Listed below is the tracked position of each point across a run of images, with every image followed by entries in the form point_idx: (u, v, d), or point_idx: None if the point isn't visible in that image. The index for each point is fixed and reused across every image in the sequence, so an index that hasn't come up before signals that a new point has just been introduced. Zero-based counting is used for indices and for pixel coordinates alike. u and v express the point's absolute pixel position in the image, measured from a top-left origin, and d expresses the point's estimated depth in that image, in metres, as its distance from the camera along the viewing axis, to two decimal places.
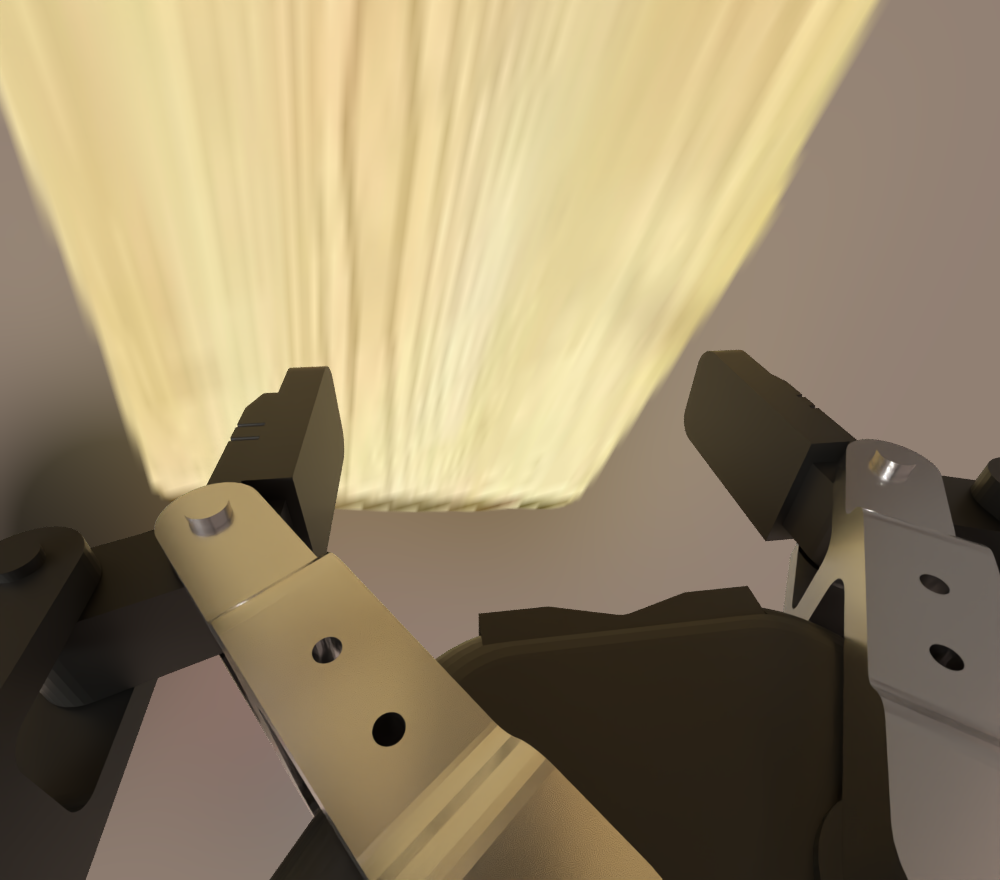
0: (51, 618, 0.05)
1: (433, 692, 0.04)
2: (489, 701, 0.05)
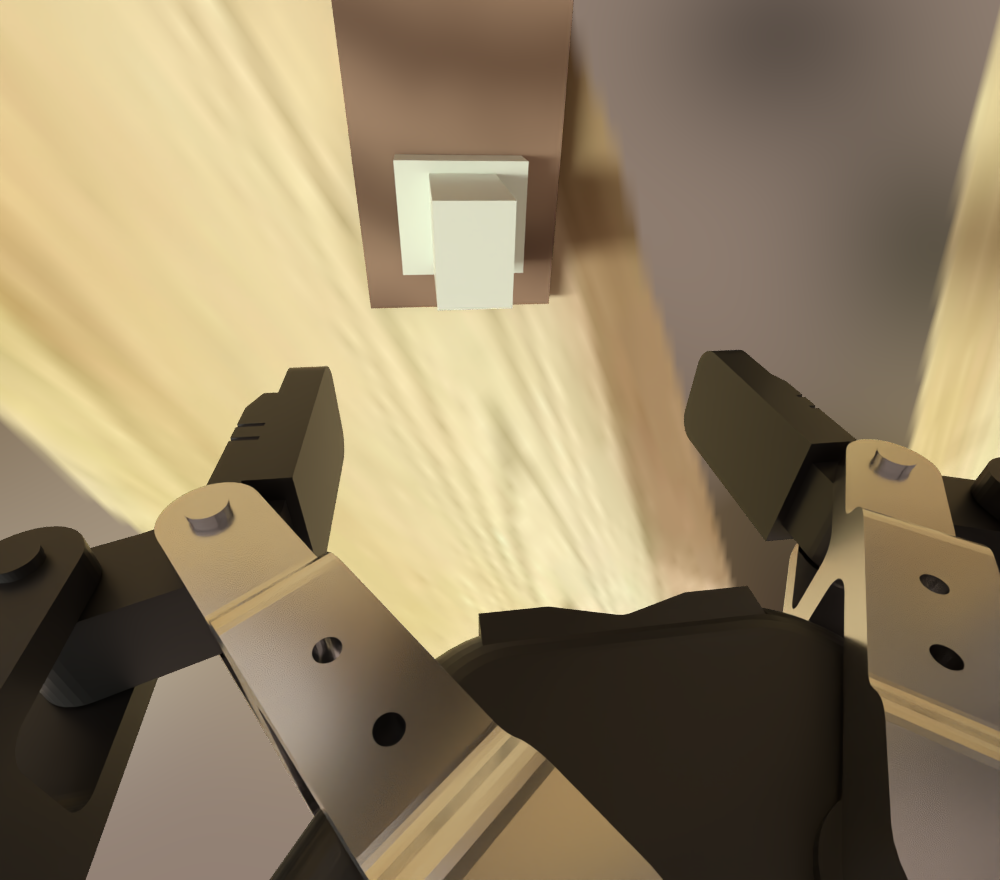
0: (51, 618, 0.05)
1: (433, 692, 0.04)
2: (490, 701, 0.05)
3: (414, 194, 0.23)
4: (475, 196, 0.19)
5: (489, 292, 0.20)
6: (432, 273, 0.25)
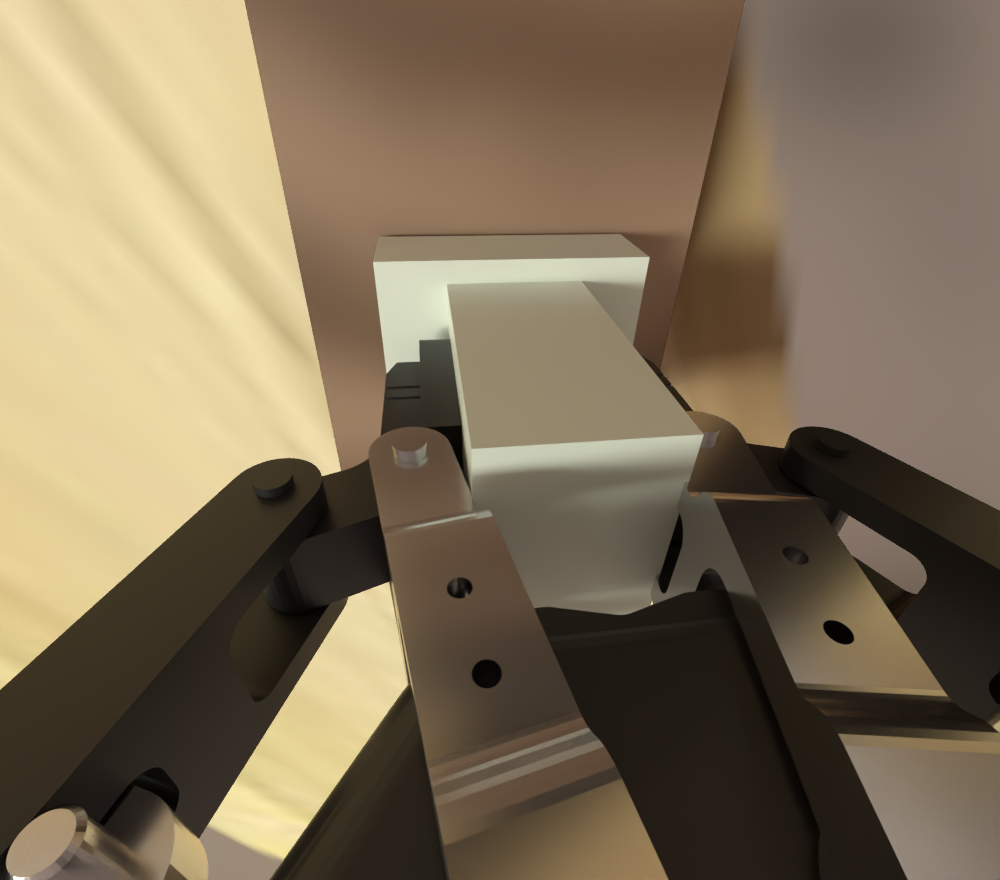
0: (282, 538, 0.06)
1: (534, 661, 0.04)
2: None
3: (417, 323, 0.11)
4: (582, 409, 0.07)
5: (598, 602, 0.08)
6: None
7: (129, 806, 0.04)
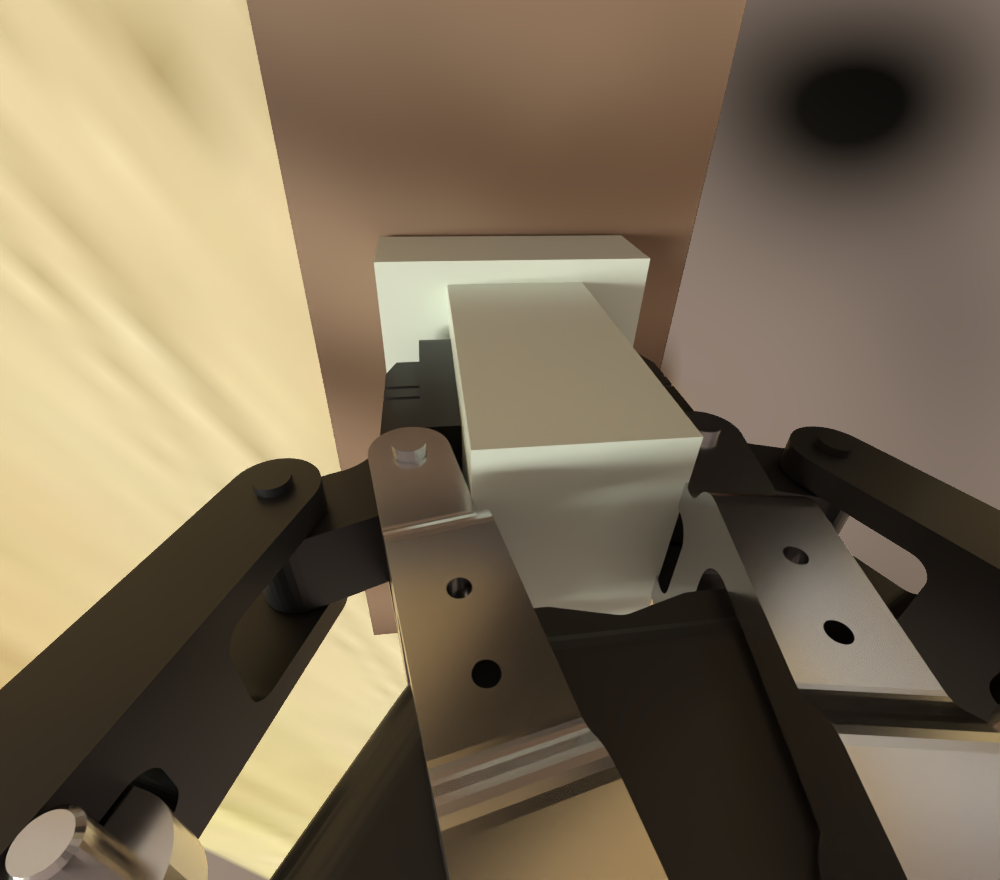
0: (281, 539, 0.06)
1: (533, 660, 0.04)
2: None
3: (418, 323, 0.11)
4: (582, 411, 0.07)
5: (597, 604, 0.08)
6: None
7: (129, 806, 0.04)
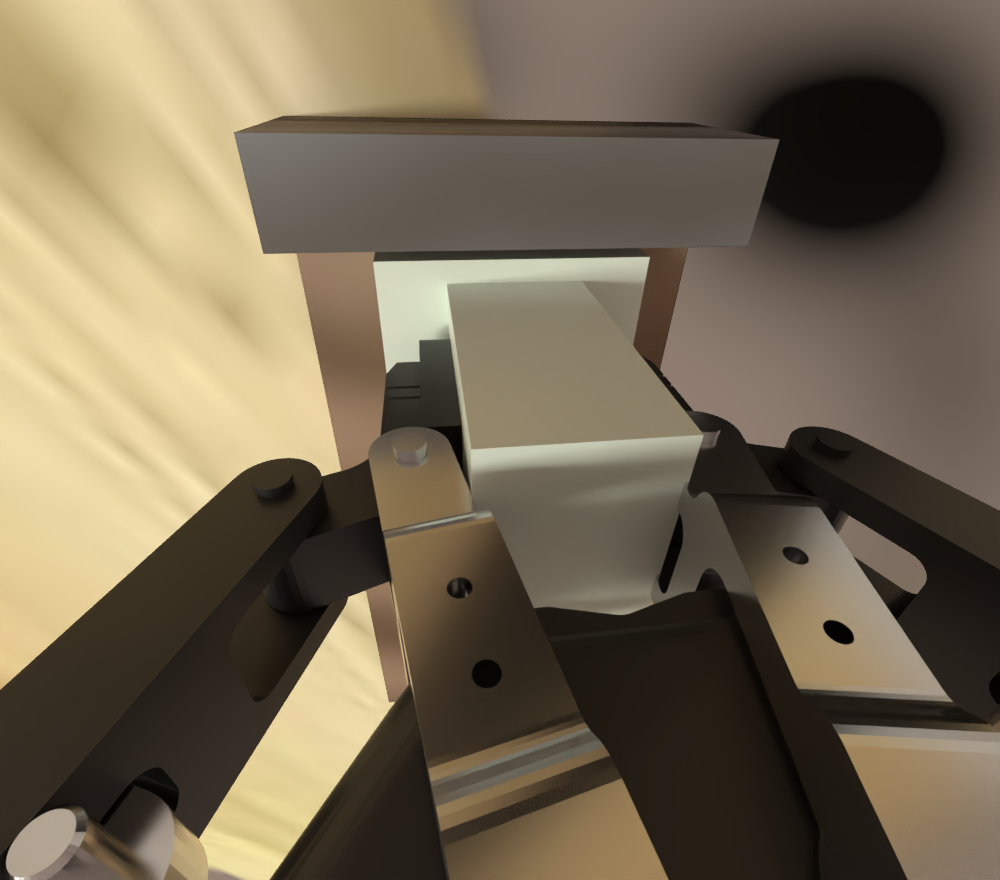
0: (282, 539, 0.06)
1: (534, 660, 0.04)
2: None
3: (417, 323, 0.11)
4: (582, 409, 0.07)
5: (598, 603, 0.08)
6: None
7: (129, 806, 0.04)
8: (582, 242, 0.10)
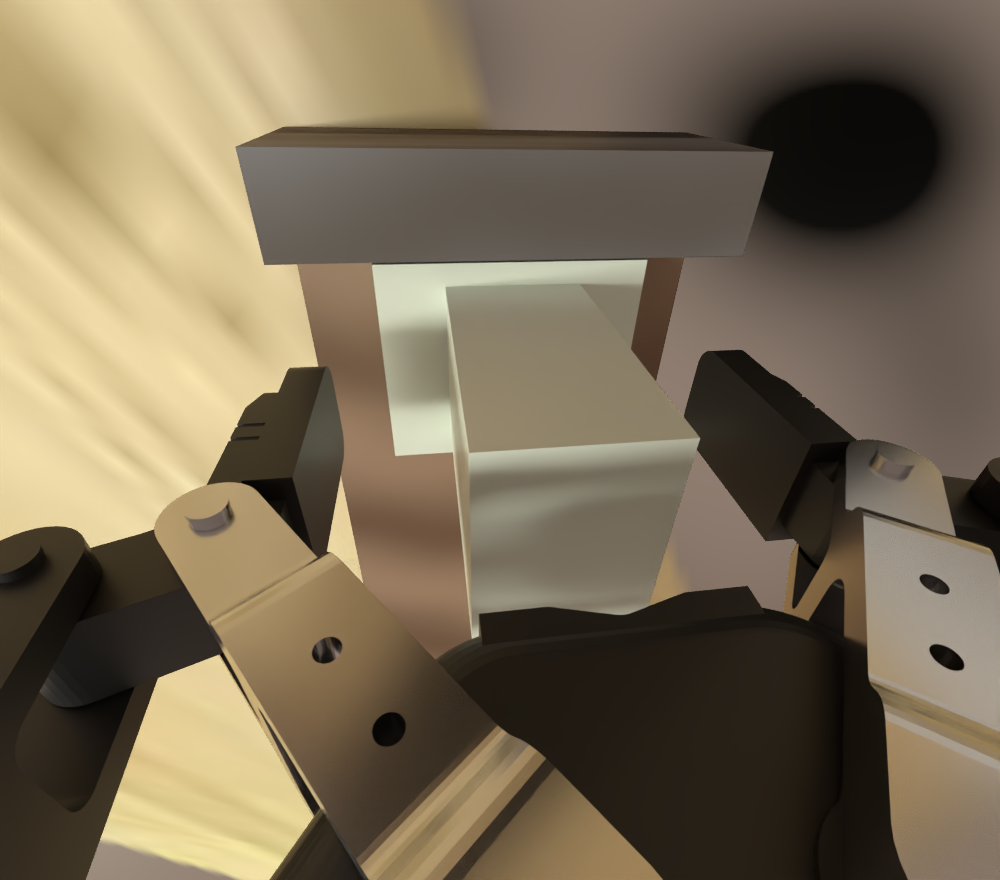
0: (52, 617, 0.05)
1: (433, 692, 0.04)
2: (489, 701, 0.05)
3: (416, 326, 0.11)
4: (579, 412, 0.07)
5: (596, 605, 0.08)
6: (449, 451, 0.14)
7: None
8: (579, 252, 0.11)
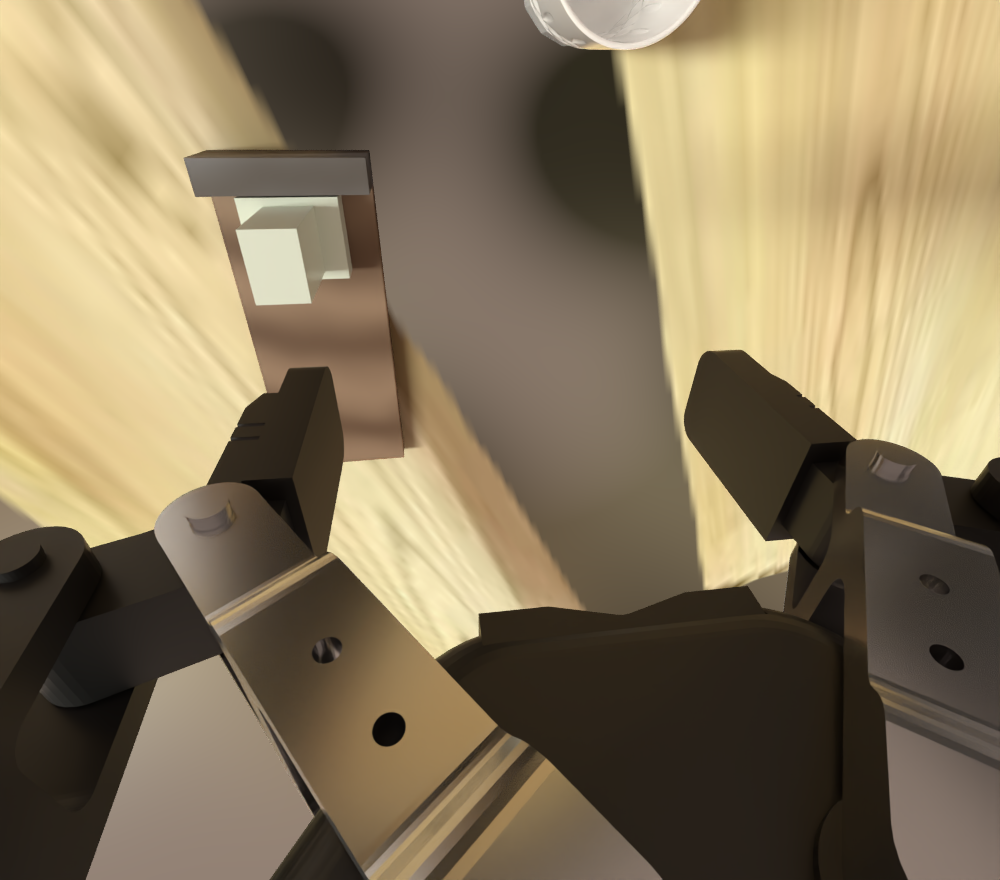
0: (50, 618, 0.05)
1: (433, 693, 0.04)
2: (489, 701, 0.05)
3: None
4: (271, 225, 0.27)
5: (291, 292, 0.28)
6: None
7: None
8: (306, 193, 0.31)
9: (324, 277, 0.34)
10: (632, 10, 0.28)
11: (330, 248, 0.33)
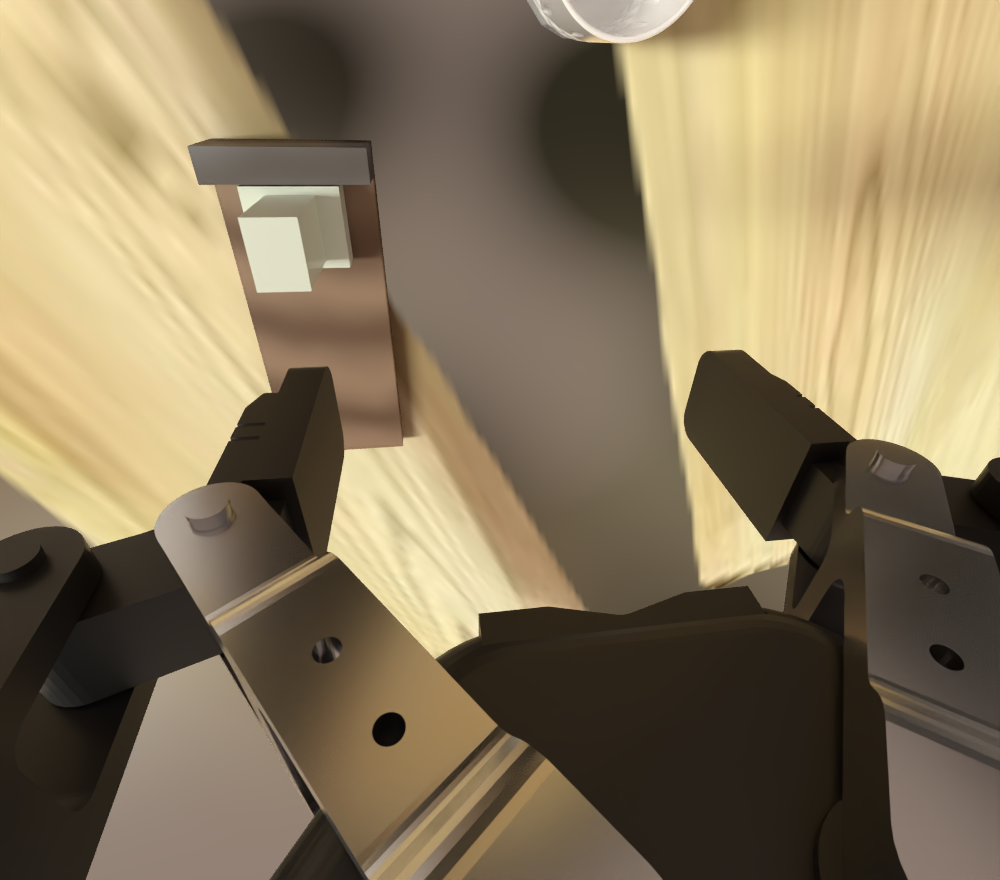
0: (51, 618, 0.05)
1: (433, 692, 0.04)
2: (489, 701, 0.05)
3: None
4: (272, 214, 0.27)
5: (292, 280, 0.29)
6: None
7: None
8: (308, 182, 0.31)
9: (325, 266, 0.34)
10: (632, 3, 0.28)
11: (332, 237, 0.33)
